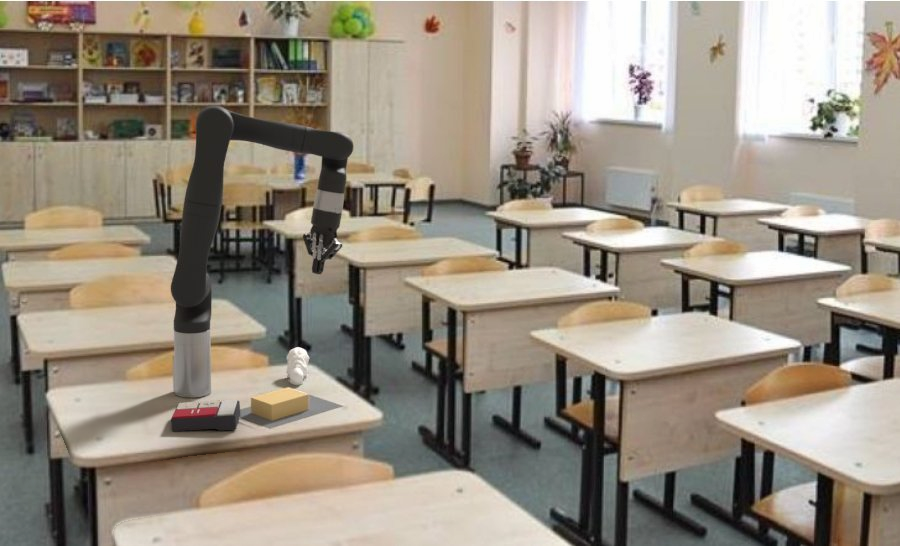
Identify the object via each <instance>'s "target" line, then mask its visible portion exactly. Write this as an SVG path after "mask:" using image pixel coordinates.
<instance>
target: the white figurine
mask: <svg viewBox="0 0 900 546" xmlns="http://www.w3.org/2000/svg"><path fill="white" fill-rule="evenodd" d="M309 360H310V356H309V355H308V352H307V350H306V349H304V348H302V347H299V346H297V347H294V348H292V349H290V350H289V351H288V354H287V355H286V361H287V367H286V374H287V375H286V378H287V379H288V382H290V385H295V386H299V385H302V384H303V383H304V382H306V379H307V378H309V373H310V369H309V368H308V366H309ZM304 378H305V379H304Z"/></svg>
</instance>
